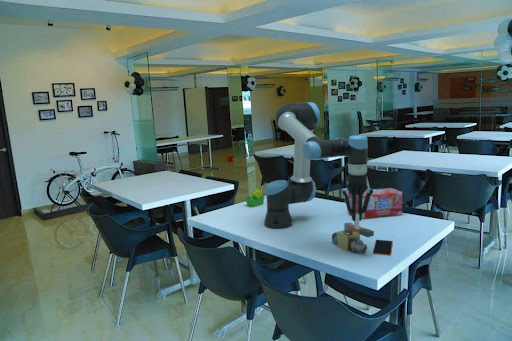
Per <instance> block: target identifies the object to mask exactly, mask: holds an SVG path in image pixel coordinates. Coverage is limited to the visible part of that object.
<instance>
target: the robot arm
mask: <svg viewBox="0 0 512 341" xmlns="http://www.w3.org/2000/svg"><path fill="white" fill-rule="evenodd" d="M320 121H321V112H320V109H319V107H318V105H317V104H316V103H314V102H309V101H305V102H304V101H303V102H289V103H284V104H282V105H280V106H279V107H278V108H277V109H276V112H275V114H274V122H275V124H276V126H277V127H278V128H279V129H281V130H282V131H285V132H287V134H289V135H290V137H291V138H292V139H294V153H293V175H292V176H291V177H290V178H289V179H290V181H288V180H286V179H281V180H280V179H278V180H274V181H271V182H269V183H268V184H266V191H265V194H266V195H265V197H266V214H265V217H264V222H263V223H264V224H263V225H264V227H266V228H268V229H276V230H277V229H279V230H280V229H287V228H289V227H291V226H293V218H292V215H291V212H290V209H289V208H290V207H289V205H294V204H300V203H306V202H310V201H311V202H312V200H313V199H314V198H315V196H316V193H317V186H316V183H315V181H314V180H313V178H312V177H311V175H310V174H311V173H310V172H311V170H310V169H311V160H321V159H328V158H337V157H346V158H348V159H347V160H348V164H347V166H348V167H347V172H348V175H347V185H346V188H344V189H341V190H340V191H341V193H342V195H343V197H344V201H345V205H346V210H347V213H348V212H349V213H352V215H351V220H352V221H353V225H354V228H355V229H359V226H360V222H362V220H363V219H362V213H363V212H366V211H367V207H368V203H369V200H370V196H371V194H372V193H373V190H372V188H370V187H369V186H368V180H367V179H368V175H367V172H368V152H369V151H368V149H369V145H368V144H369V143H368V137H367V136H366V135H360V134H359V135H358V134H357V135H350V136H349V137H348V138H345V137H335V138H334V139H320V138H319V136H317V135H316V134H314V133H313V132H314V131H315V129H316V126H317V125H319V124H320ZM366 190H367V191H366ZM348 191H349V192H350V193H351V194H352V209H351V207H350V203H349V198H348ZM365 191H366V192H367V193H366V196H365V200H364V204H363V207H362V198H363V194H364V193H365ZM357 195H358V212H356V196H357ZM349 213H348V214H349Z"/></svg>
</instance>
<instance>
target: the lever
mask: <svg viewBox="0 0 512 341" xmlns="http://www.w3.org/2000/svg"><path fill="white" fill-rule="evenodd" d="M343 227H344V228H343V230H344V232H345V233H352V232H353V231H354V232H356V233H359V234H360V236H363V237H366V238H370V237H374V235H375V231H374V230H371V229H368V228H366V227H362V226H360V225H359V229H355V228H354V223H352V222H344V224H343Z"/></svg>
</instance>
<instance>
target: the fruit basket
mask: <svg viewBox="0 0 512 341" xmlns="http://www.w3.org/2000/svg"><path fill="white" fill-rule="evenodd" d="M265 197H266V196H264V195H262V191H261V189H260V188H256V189H255V190H254V191H253V193H252V196H249V197H245V198H244V199H245V200H244V201H245V203H246V205H247V207H251V208H255V207H258V206H263V205H264V201H265V199H266V198H265Z"/></svg>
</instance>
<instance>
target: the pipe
mask: <svg viewBox="0 0 512 341" xmlns="http://www.w3.org/2000/svg"><path fill="white" fill-rule="evenodd" d="M331 241H332V242H334V245H336V246H337V247H338V248H339V249H342V250H344V251H345V252H352V253H354V254H355V253H358V254H361V255H363V254H365V253H366V252H367V249H368V247H367V244H366V243H364V242H363V240H362V239H361V235H360V234H359V233H356V232H354V231H353V232H352V233H345V232H344V229H342V230H340V231H337V232H334V233H333V234H331Z"/></svg>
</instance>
